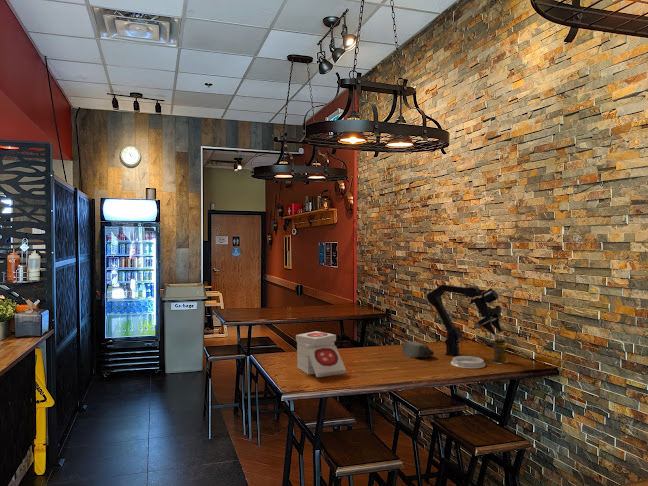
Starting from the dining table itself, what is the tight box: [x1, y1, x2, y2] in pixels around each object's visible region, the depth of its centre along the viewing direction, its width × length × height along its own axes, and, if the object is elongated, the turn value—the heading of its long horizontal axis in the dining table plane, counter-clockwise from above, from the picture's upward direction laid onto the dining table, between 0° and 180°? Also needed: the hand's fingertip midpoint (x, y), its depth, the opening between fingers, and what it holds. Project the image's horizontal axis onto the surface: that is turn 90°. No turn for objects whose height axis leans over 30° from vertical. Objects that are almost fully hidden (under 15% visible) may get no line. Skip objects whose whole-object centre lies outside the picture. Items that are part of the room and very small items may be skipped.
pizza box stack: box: [295, 330, 347, 378], centre depth 252 cm, size 19×30×18 cm, turn 24°
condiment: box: [488, 338, 509, 365], centre depth 268 cm, size 7×8×12 cm
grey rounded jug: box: [401, 340, 435, 359], centre depth 283 cm, size 18×11×8 cm, turn 31°
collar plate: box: [450, 355, 487, 370], centre depth 264 cm, size 18×18×2 cm
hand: (497, 332), depth 268 cm, fingers open, 9 cm apart
